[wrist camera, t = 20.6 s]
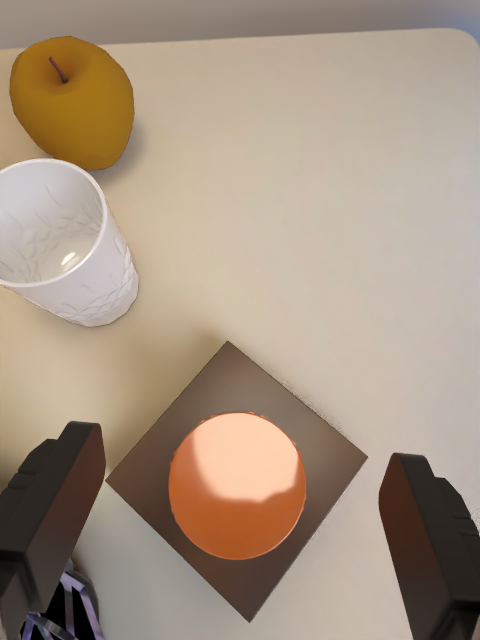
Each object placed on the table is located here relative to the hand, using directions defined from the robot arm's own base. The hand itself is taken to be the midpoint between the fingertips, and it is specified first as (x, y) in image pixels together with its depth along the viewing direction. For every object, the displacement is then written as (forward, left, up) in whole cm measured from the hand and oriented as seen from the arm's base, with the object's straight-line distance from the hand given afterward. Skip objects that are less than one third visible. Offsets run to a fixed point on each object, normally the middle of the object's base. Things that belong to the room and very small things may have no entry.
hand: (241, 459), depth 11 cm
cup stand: (-1, +1, -18) cm, 18 cm away
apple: (+25, -11, -18) cm, 33 cm away
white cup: (+16, -2, -18) cm, 24 cm away
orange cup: (-1, +1, -16) cm, 16 cm away
